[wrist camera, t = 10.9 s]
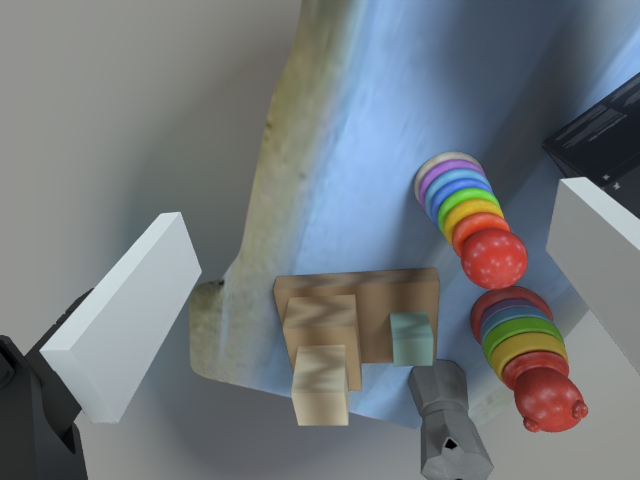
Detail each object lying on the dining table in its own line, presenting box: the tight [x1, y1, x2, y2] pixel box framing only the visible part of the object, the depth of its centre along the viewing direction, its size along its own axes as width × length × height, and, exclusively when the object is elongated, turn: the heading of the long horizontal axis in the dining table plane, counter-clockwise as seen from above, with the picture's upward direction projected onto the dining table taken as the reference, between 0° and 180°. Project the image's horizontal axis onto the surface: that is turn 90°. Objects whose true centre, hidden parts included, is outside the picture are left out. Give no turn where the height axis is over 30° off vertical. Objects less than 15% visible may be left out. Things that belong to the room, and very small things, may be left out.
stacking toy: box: [414, 151, 528, 289], centre depth 38 cm, size 8×8×19 cm
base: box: [273, 268, 440, 391], centre depth 54 cm, size 22×15×9 cm
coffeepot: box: [408, 359, 494, 480], centre depth 57 cm, size 15×9×18 cm, turn 17°
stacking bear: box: [471, 286, 588, 432], centre depth 48 cm, size 11×10×18 cm
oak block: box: [291, 345, 349, 425], centre depth 48 cm, size 6×6×7 cm
